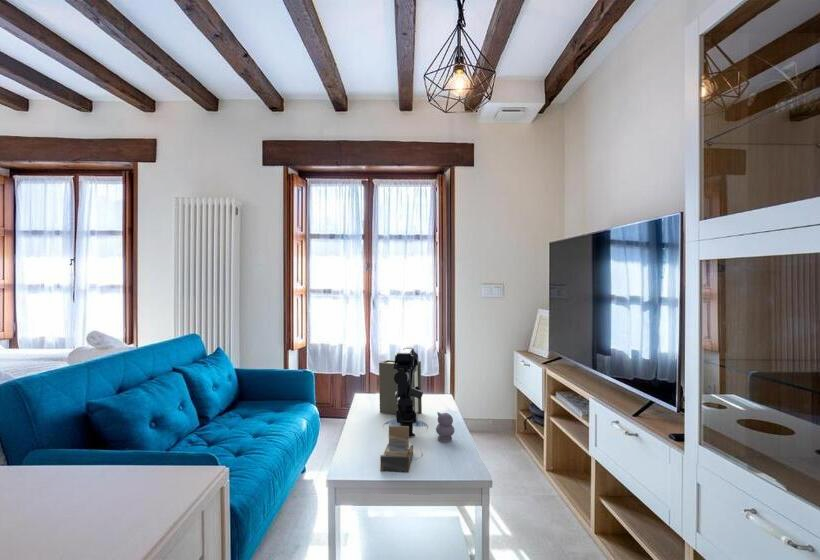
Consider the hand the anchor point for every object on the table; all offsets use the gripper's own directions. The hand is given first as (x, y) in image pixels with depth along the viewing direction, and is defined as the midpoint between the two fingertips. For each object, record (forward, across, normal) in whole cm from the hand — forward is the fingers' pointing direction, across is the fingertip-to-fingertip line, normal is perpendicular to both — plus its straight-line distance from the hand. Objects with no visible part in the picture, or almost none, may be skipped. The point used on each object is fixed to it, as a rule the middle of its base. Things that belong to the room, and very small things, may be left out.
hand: (403, 418), depth 178 cm
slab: (+10, -14, +3) cm, 18 cm away
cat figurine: (+11, +6, -20) cm, 23 cm away
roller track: (+13, -15, +3) cm, 20 cm away
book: (+8, +46, -2) cm, 47 cm away
